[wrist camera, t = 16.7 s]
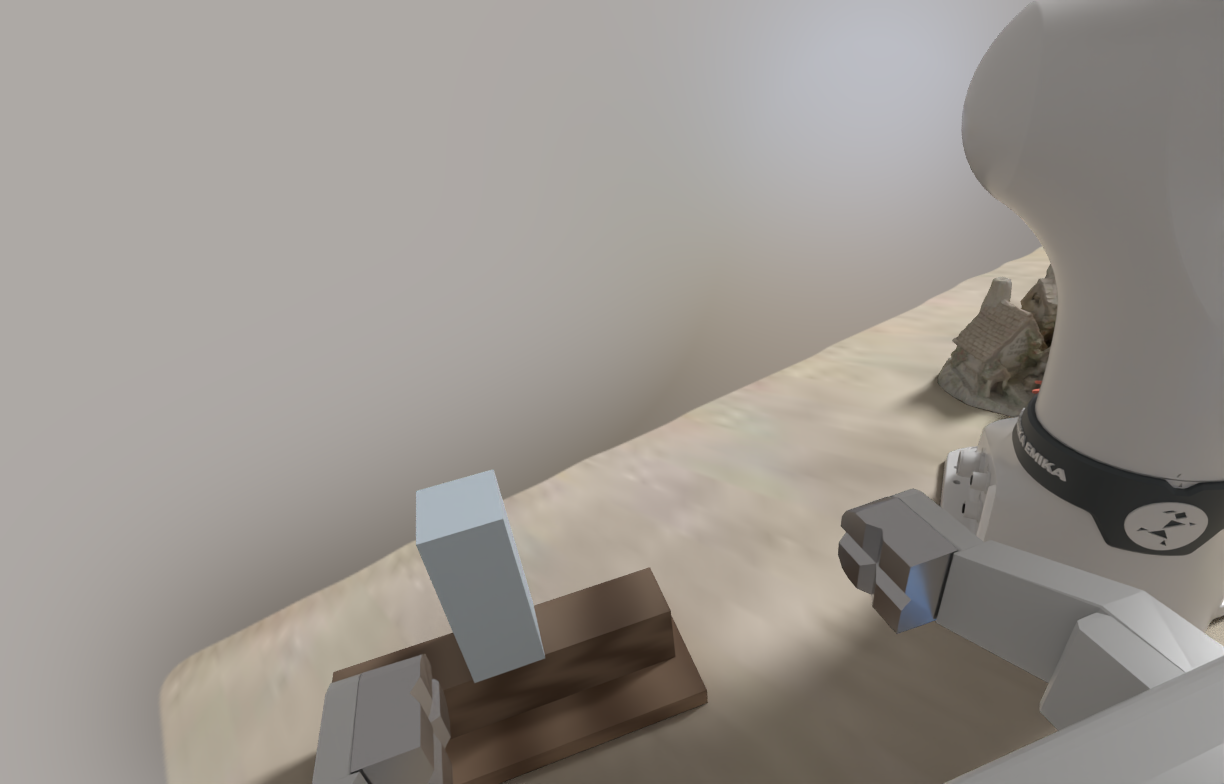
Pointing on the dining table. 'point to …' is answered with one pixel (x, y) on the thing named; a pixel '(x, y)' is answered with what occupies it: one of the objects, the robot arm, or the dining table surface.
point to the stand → (564, 682)
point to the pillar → (478, 574)
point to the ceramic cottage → (1004, 348)
